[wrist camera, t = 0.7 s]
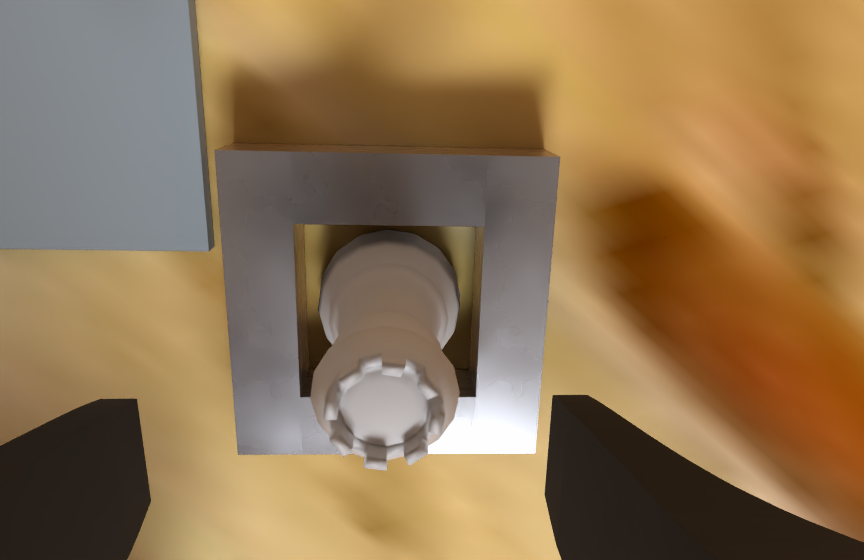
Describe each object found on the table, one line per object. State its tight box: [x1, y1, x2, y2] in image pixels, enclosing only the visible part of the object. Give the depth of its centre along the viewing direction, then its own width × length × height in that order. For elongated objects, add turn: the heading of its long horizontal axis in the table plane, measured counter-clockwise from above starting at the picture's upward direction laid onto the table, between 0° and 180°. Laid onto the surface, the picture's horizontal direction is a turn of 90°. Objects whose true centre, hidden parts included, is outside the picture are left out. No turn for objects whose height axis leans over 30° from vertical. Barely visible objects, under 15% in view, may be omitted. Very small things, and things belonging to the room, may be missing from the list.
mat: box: [0, 0, 214, 251], centre depth 18 cm, size 9×9×1 cm
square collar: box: [215, 143, 560, 455], centre depth 20 cm, size 9×9×2 cm
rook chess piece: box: [310, 229, 460, 471], centre depth 17 cm, size 4×4×8 cm
